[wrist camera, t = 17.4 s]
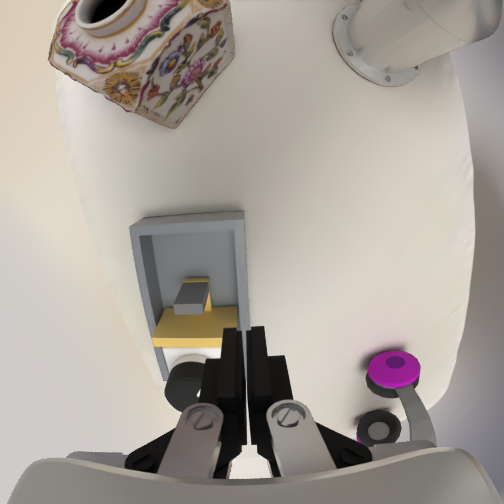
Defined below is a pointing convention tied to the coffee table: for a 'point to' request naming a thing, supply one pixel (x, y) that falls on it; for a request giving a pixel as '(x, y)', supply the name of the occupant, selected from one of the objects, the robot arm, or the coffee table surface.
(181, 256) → the gray tray
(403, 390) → the headphones
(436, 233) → the coffee table surface
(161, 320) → the pusher
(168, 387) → the medicine bottle
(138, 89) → the decorative jar
